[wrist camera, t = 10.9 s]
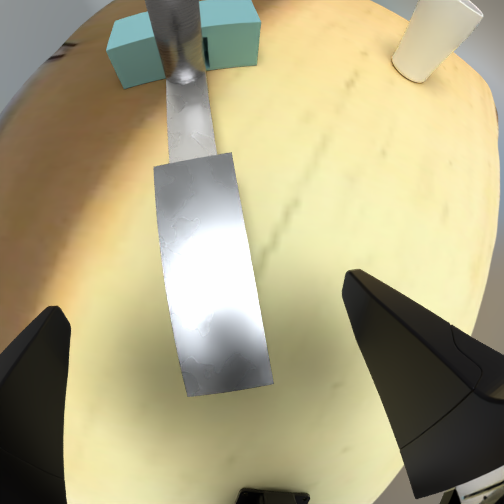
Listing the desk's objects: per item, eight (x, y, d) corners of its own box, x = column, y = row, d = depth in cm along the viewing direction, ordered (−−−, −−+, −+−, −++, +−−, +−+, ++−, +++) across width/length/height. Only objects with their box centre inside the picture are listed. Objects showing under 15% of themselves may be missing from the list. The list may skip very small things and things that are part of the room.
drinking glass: (415, 94, 25) (477, 15, 10) (376, 57, 25) (421, -27, 11) (435, 83, 26) (489, 17, 11) (400, 50, 26) (443, -20, 12)
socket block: (256, 65, 24) (261, 22, 18) (124, 89, 23) (105, 50, 17) (246, 35, 25) (249, -4, 19) (128, 56, 24) (115, 21, 18)
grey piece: (232, 244, 20) (226, 167, 8) (185, 252, 19) (116, 189, 8) (202, 48, 23) (194, -44, 11) (171, 54, 23) (151, -36, 11)
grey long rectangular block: (265, 363, 19) (273, 383, 14) (198, 374, 19) (187, 396, 14) (232, 183, 21) (231, 152, 16) (170, 194, 21) (153, 166, 16)
